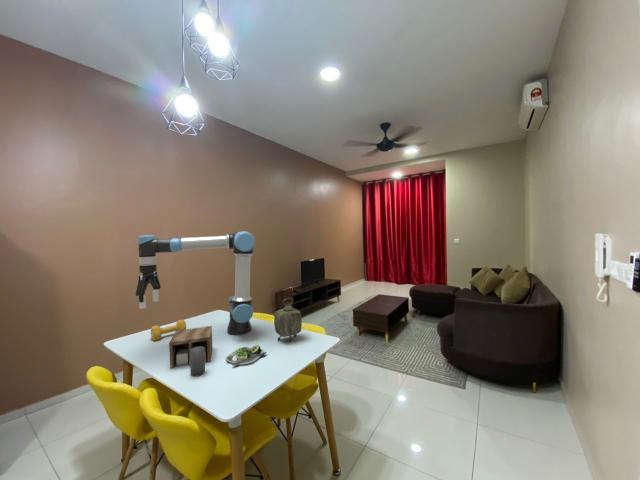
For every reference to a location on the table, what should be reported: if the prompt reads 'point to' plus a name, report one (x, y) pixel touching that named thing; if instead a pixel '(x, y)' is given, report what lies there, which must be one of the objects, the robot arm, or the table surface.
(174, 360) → the lane shelf
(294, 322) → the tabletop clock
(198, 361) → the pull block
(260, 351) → the avocado toast plate
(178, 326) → the dumbbell
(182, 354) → the grey lane block
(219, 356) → the table surface
